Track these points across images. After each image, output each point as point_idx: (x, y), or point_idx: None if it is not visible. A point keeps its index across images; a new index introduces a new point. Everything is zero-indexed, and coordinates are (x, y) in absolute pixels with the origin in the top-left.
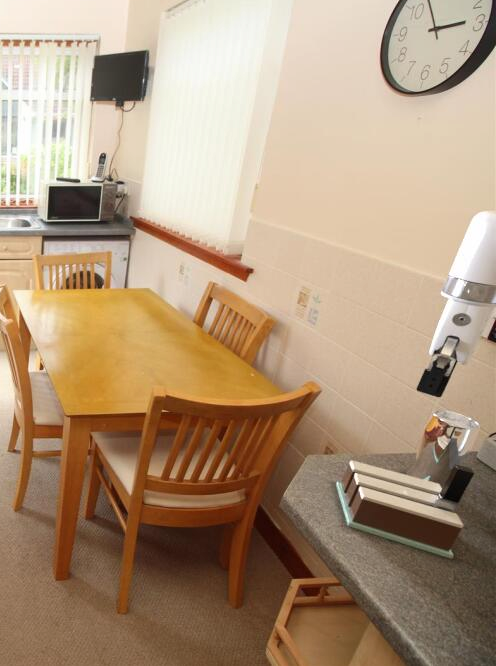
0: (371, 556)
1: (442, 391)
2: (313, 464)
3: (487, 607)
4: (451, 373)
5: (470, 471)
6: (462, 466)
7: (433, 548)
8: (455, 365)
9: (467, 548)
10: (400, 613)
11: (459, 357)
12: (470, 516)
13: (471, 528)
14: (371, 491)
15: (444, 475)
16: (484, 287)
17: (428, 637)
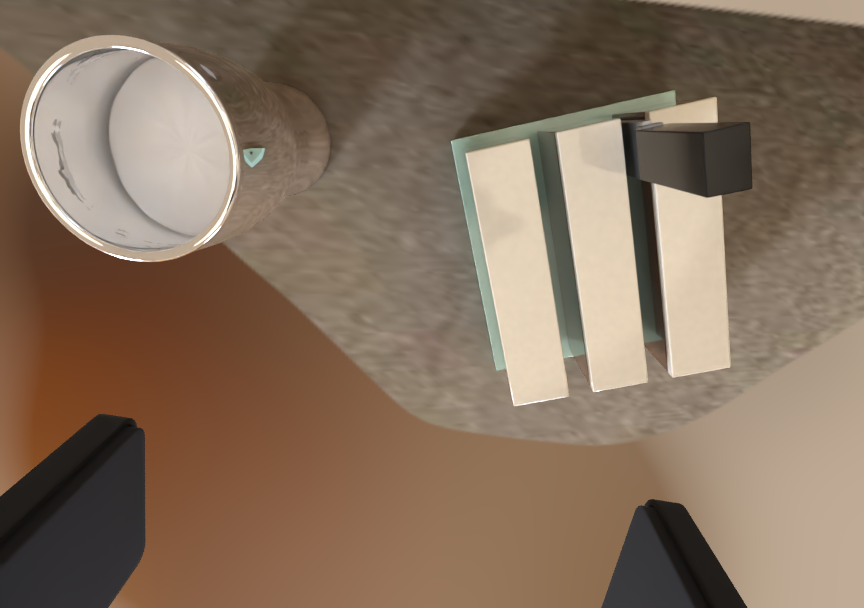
0: (785, 275)
1: (701, 548)
2: (426, 421)
3: (836, 22)
4: (83, 459)
5: (745, 139)
6: (712, 168)
7: None
8: (8, 536)
9: (581, 44)
10: None
11: None
12: (379, 17)
13: (454, 22)
14: (684, 348)
15: (292, 109)
16: None
17: None
